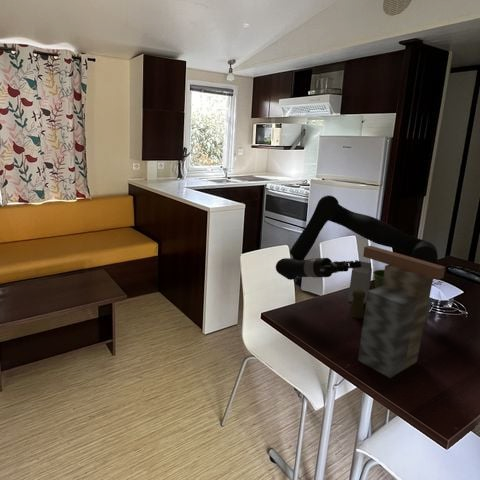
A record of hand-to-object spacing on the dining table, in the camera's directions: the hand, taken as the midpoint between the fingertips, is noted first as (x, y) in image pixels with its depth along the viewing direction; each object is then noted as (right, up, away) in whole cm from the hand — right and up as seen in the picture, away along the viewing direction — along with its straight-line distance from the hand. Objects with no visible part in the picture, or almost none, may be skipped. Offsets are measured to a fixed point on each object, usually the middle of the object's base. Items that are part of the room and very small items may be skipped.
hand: (354, 266), depth 138 cm
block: (+11, +1, -14) cm, 18 cm away
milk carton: (+13, -19, +37) cm, 43 cm away
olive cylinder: (+8, -22, +23) cm, 33 cm away
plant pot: (+27, -17, +44) cm, 54 cm away
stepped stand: (+8, -31, -10) cm, 34 cm away
